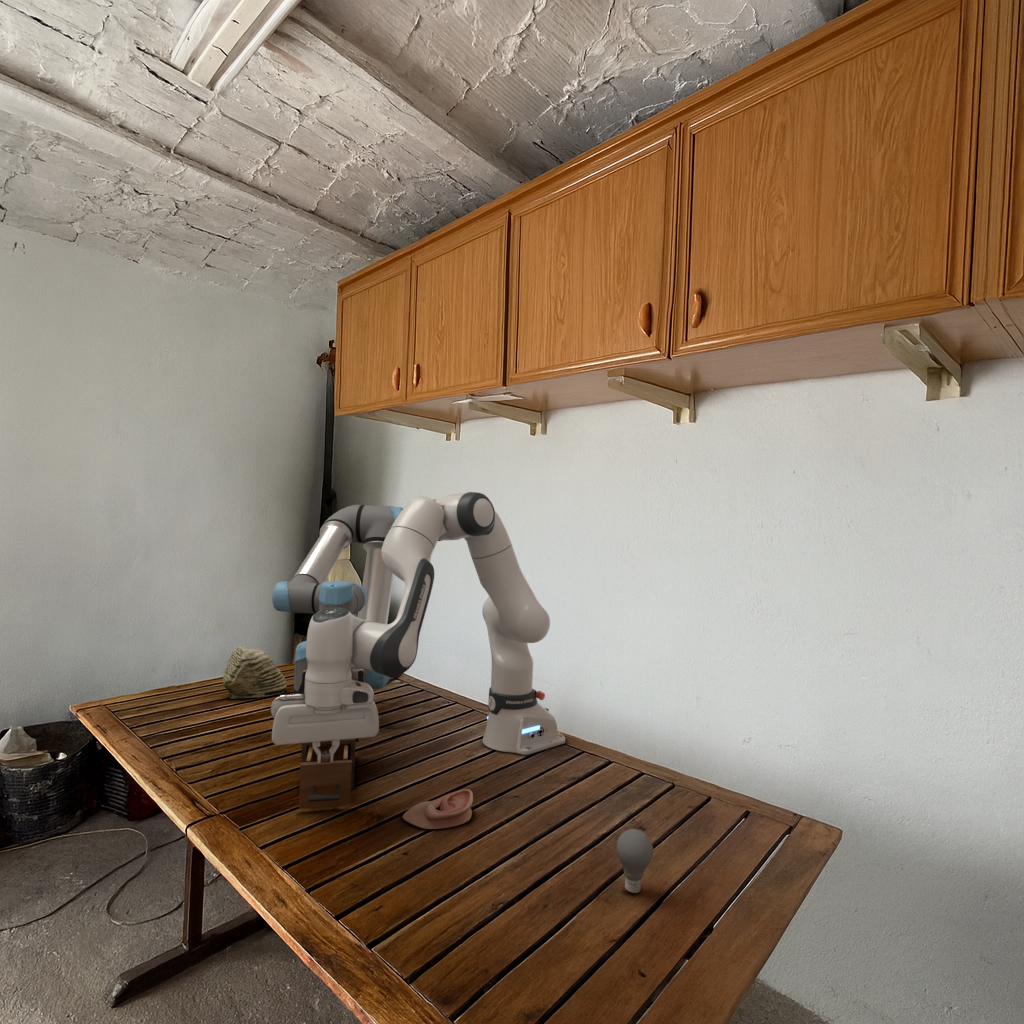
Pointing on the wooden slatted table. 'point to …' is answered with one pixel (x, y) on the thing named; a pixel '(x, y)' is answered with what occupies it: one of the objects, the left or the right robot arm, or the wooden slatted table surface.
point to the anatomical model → (442, 811)
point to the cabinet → (345, 741)
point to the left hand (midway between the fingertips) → (330, 741)
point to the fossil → (252, 674)
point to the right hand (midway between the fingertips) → (325, 761)
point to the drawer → (325, 779)
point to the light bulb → (634, 857)
